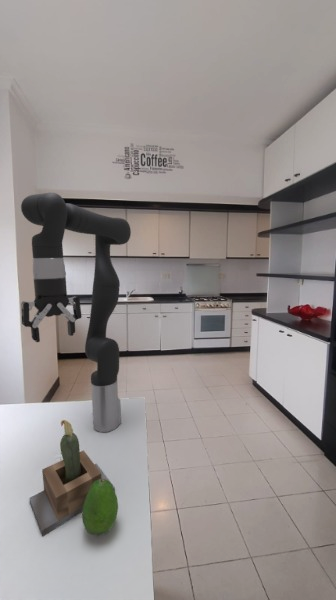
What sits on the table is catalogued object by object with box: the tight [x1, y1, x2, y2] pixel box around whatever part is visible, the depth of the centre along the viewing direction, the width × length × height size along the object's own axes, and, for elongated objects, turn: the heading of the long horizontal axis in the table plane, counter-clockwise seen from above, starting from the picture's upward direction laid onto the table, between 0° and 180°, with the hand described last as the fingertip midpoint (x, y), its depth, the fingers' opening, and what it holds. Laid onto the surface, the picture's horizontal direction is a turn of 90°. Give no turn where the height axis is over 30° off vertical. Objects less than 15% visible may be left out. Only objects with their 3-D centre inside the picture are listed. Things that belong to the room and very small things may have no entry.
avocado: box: [81, 479, 119, 536], centre depth 61 cm, size 8×8×12 cm
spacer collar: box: [28, 450, 116, 537], centre depth 70 cm, size 18×11×8 cm, turn 129°
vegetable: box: [59, 419, 81, 484], centre depth 69 cm, size 4×4×20 cm
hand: (54, 338), depth 72 cm, fingers open, 8 cm apart
